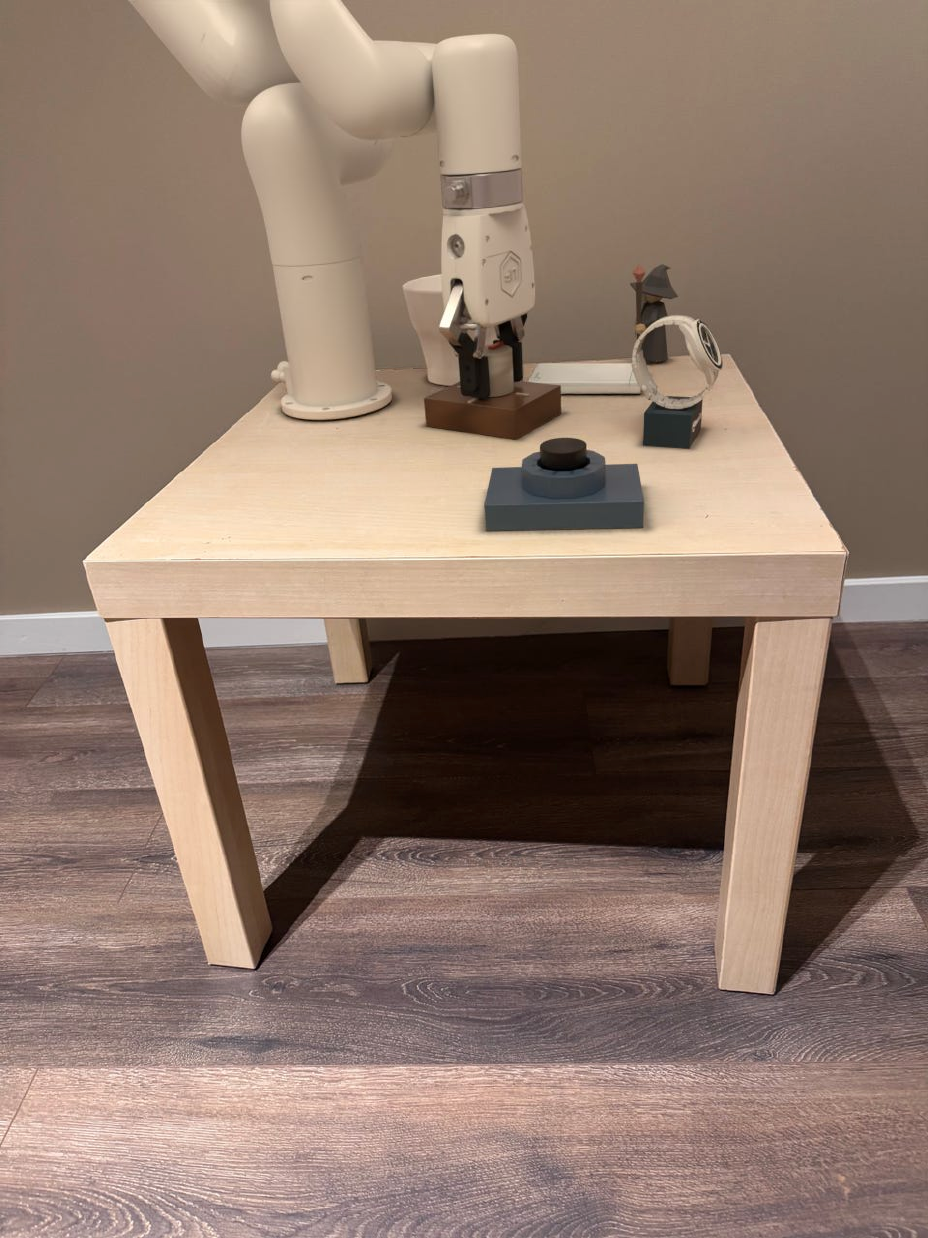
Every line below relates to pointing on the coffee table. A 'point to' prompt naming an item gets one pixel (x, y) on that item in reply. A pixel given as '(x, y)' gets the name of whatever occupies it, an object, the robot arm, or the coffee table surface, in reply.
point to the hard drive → (588, 378)
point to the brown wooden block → (494, 410)
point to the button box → (564, 496)
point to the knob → (500, 369)
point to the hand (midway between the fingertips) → (492, 386)
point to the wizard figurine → (652, 310)
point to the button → (563, 454)
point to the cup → (435, 329)
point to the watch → (673, 415)
